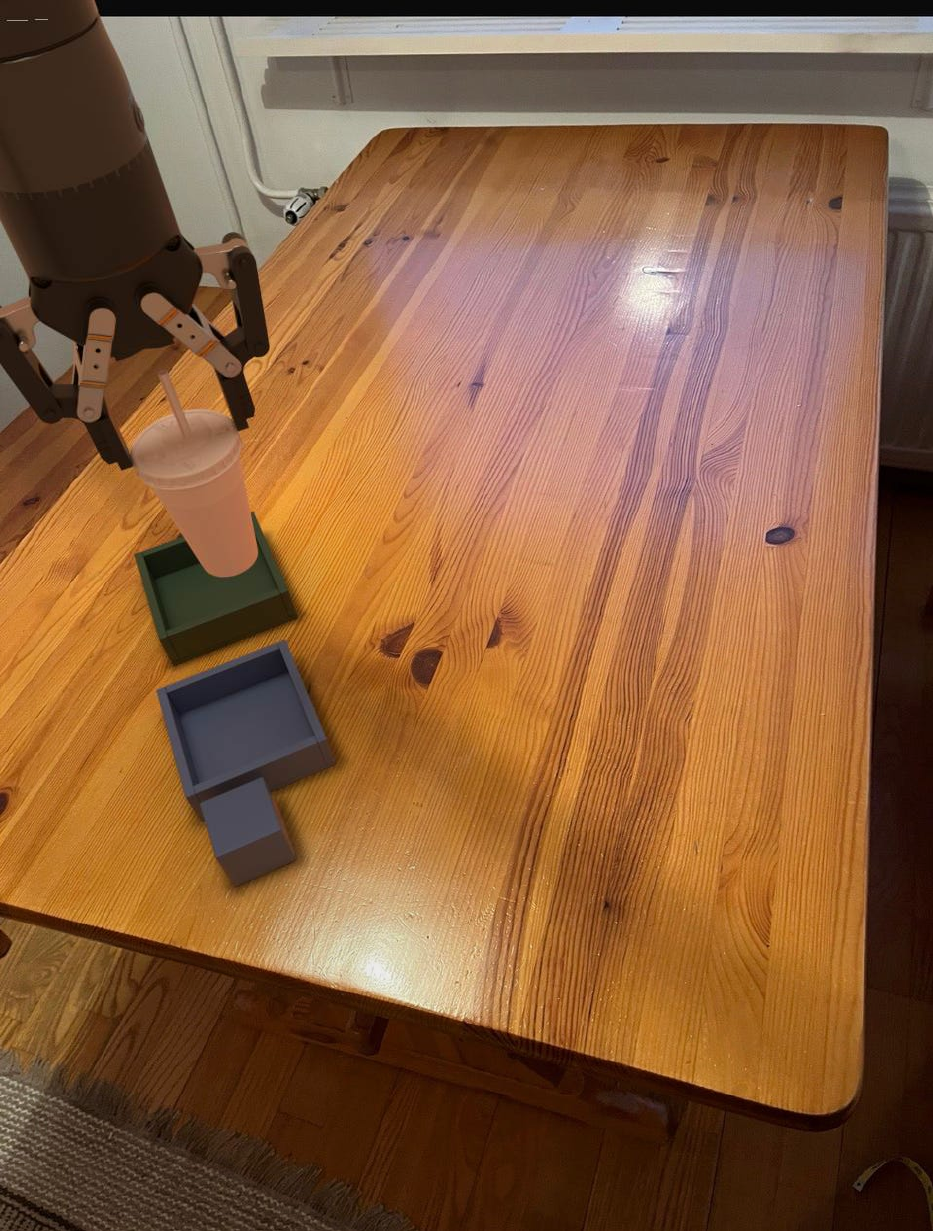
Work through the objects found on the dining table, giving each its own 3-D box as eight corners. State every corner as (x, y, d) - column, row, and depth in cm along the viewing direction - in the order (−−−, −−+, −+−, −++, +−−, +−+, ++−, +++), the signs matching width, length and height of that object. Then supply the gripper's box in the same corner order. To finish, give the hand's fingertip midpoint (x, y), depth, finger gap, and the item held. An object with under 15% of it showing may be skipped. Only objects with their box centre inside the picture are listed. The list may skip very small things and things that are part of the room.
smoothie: (292, 528, 63) (234, 348, 52) (256, 599, 59) (185, 420, 48) (206, 518, 64) (133, 341, 53) (165, 586, 60) (77, 410, 49)
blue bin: (201, 821, 67) (185, 797, 64) (171, 715, 73) (155, 689, 71) (336, 764, 69) (326, 738, 66) (295, 665, 75) (285, 638, 73)
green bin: (173, 666, 77) (158, 639, 74) (147, 580, 83) (133, 553, 81) (298, 617, 79) (288, 590, 76) (263, 538, 86) (253, 510, 83)
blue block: (234, 887, 63) (215, 858, 60) (219, 833, 66) (199, 802, 63) (297, 860, 64) (281, 829, 61) (279, 808, 67) (262, 776, 64)
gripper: (199, 79, 45) (283, 371, 58) (-107, 157, 42) (52, 445, 55) (236, 134, 40) (319, 438, 53) (-105, 226, 38) (68, 523, 50)
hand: (182, 441), depth 54 cm, fingers closed on smoothie, 6 cm apart
